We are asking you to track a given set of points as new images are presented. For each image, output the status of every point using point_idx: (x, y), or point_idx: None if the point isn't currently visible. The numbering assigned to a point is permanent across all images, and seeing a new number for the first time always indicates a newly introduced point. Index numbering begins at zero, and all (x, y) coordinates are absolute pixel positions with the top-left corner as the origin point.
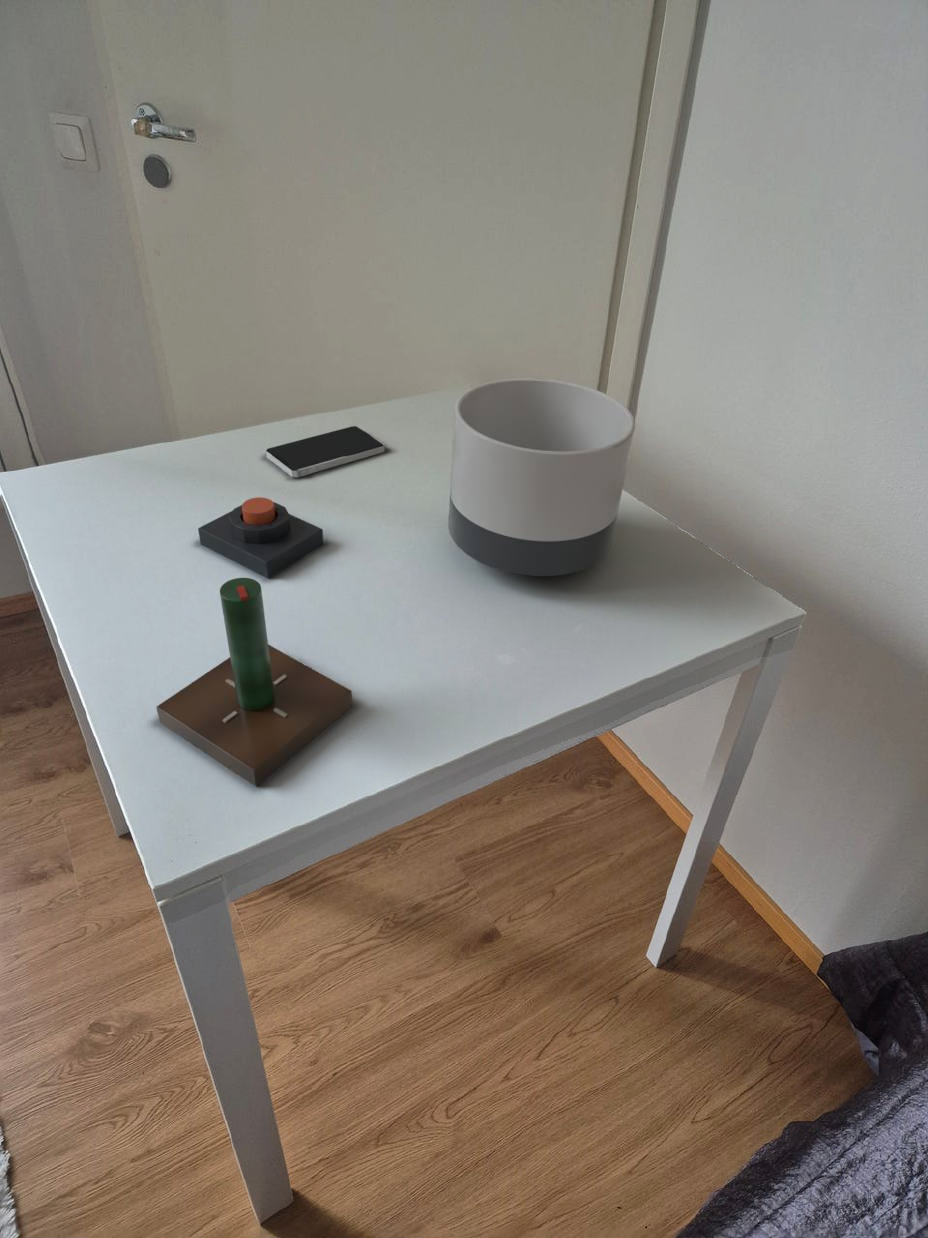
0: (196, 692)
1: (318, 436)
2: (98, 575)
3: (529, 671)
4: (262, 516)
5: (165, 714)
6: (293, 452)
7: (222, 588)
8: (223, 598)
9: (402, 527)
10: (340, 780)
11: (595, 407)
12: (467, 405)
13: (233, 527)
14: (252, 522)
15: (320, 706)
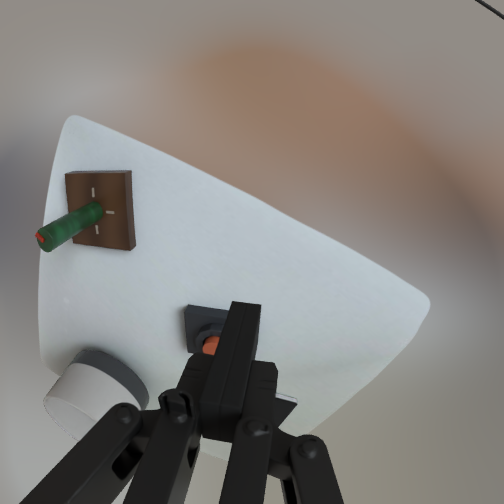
0: (118, 195)
1: (280, 422)
2: (285, 252)
3: (57, 297)
4: (204, 343)
5: (118, 172)
6: (279, 406)
7: (49, 235)
8: (44, 228)
9: (172, 372)
10: (55, 198)
11: None
12: None
13: (220, 329)
14: (210, 337)
15: None
